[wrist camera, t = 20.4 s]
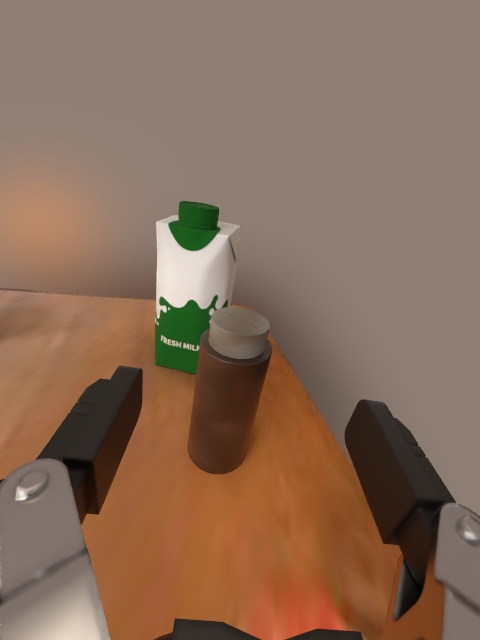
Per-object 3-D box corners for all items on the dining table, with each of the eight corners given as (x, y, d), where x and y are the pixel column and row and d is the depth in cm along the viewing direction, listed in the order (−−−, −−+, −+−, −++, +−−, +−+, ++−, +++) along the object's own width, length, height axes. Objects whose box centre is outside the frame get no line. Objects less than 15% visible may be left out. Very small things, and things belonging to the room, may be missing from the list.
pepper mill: (177, 461, 26) (190, 325, 19) (201, 417, 30) (217, 297, 24) (236, 483, 25) (271, 348, 18) (251, 434, 30) (282, 314, 23)
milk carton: (145, 367, 36) (147, 198, 27) (171, 333, 44) (179, 194, 35) (212, 383, 36) (238, 215, 26) (226, 346, 44) (249, 207, 34)
